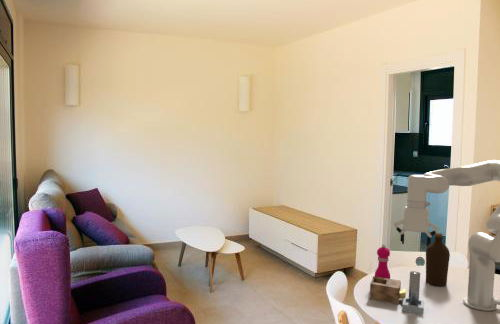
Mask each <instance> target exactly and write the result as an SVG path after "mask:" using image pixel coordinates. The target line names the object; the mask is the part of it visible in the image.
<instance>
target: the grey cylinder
mask: <svg viewBox="0 0 500 324" xmlns="http://www.w3.org/2000/svg"><path fill="white" fill-rule="evenodd" d="M420 283H421V273H420V272H419V271H414V270H411V271H410V272H409V285H408V298H409V302H408V304H409V305H414V306H419V300H420V288H421V287H420V286H421V285H420Z"/></svg>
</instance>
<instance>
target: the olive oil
mask: <svg viewBox="0 0 500 324" xmlns="http://www.w3.org/2000/svg"><path fill="white" fill-rule="evenodd" d="M450 254H451V253H450V250H449V248H448V246H446V245H445V243H444V242H443V233H442V232H436V233H435V234H434V241H433V242H431V243H430V244H429V247H427V246H426V249H425V283H426V284H427V285H428V286H433V287H438V288H444V287H446V286H447V283H448V276H449V275H448V273H449V267H450V266H449V265H450V264H449V263H450V257H451V256H450Z"/></svg>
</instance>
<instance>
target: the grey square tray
mask: <svg viewBox="0 0 500 324" xmlns="http://www.w3.org/2000/svg"><path fill="white" fill-rule="evenodd" d="M408 302H409V297H407V296H406V297H404V299H403V301H402V309H401V311H403V312H407V311H408V313H412V312H413V313H414V314H418V315H424V308H425V307H424V305H425V301H424V300H422V299H419V306H414V305H409V304H408Z"/></svg>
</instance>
